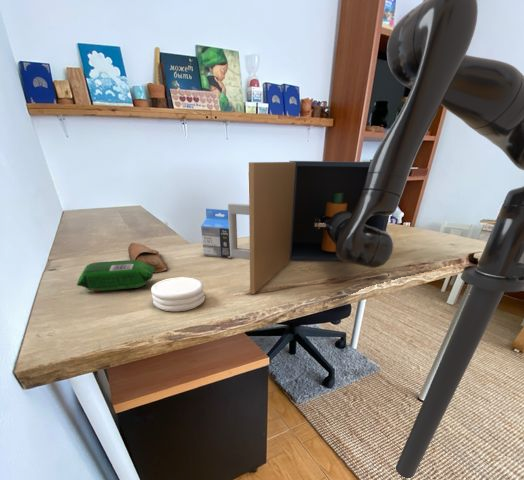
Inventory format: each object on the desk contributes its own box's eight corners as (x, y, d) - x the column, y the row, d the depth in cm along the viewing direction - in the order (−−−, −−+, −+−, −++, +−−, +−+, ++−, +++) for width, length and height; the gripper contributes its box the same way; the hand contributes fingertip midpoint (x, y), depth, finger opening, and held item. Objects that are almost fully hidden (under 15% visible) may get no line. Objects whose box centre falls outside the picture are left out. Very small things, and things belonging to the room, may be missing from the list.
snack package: (157, 289, 64) (152, 266, 62) (78, 295, 61) (70, 270, 58) (158, 279, 70) (154, 257, 67) (87, 283, 67) (80, 260, 64)
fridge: (378, 262, 84) (401, 162, 70) (287, 260, 84) (293, 161, 71) (362, 246, 99) (378, 162, 85) (284, 245, 99) (289, 160, 86)
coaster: (176, 317, 53) (173, 299, 51) (143, 303, 58) (139, 286, 56) (215, 300, 60) (213, 283, 58) (183, 288, 65) (180, 273, 63)
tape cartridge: (203, 255, 87) (198, 210, 80) (209, 252, 90) (205, 208, 83) (230, 258, 85) (228, 212, 78) (235, 255, 88) (234, 210, 81)
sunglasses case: (169, 268, 75) (151, 247, 70) (147, 285, 74) (127, 264, 70) (158, 251, 88) (142, 232, 84) (140, 265, 88) (123, 247, 84)
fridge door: (227, 289, 64) (220, 161, 51) (268, 258, 85) (270, 161, 72) (254, 293, 63) (253, 162, 50) (289, 261, 83) (295, 161, 70)
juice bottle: (344, 250, 87) (353, 193, 79) (330, 252, 84) (338, 193, 76) (330, 246, 91) (338, 191, 83) (317, 248, 88) (323, 192, 80)
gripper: (378, 213, 69) (360, 205, 83) (317, 212, 69) (309, 204, 83) (371, 246, 73) (355, 232, 87) (314, 245, 73) (307, 232, 87)
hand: (332, 218), depth 85 cm, fingers closed on juice bottle, 5 cm apart
